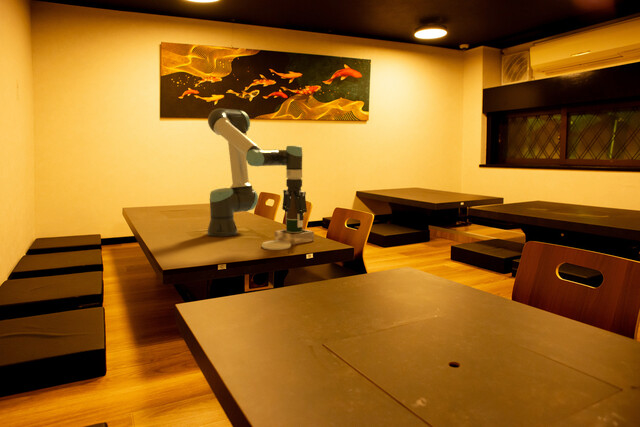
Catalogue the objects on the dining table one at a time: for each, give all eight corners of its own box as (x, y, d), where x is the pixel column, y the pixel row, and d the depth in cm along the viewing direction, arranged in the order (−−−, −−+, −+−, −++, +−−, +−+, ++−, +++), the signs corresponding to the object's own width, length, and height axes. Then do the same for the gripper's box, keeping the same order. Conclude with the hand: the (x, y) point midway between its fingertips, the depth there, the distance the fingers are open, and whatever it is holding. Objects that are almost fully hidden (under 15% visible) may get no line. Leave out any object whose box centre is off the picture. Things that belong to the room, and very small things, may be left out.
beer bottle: (303, 239, 216) (303, 190, 213) (301, 242, 208) (301, 192, 205) (287, 238, 217) (287, 190, 213) (284, 241, 209) (284, 191, 206)
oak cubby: (274, 240, 213) (274, 231, 212) (295, 236, 222) (295, 227, 221) (292, 244, 203) (292, 235, 203) (313, 240, 213) (313, 231, 212)
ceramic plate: (256, 246, 199) (256, 243, 199) (278, 242, 208) (278, 239, 208) (274, 251, 190) (274, 247, 189) (296, 246, 199) (296, 243, 198)
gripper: (274, 177, 213) (274, 224, 216) (303, 180, 198) (302, 229, 202) (286, 177, 218) (286, 222, 221) (315, 179, 204) (314, 227, 207)
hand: (294, 225), depth 212 cm, fingers closed on beer bottle, 8 cm apart
